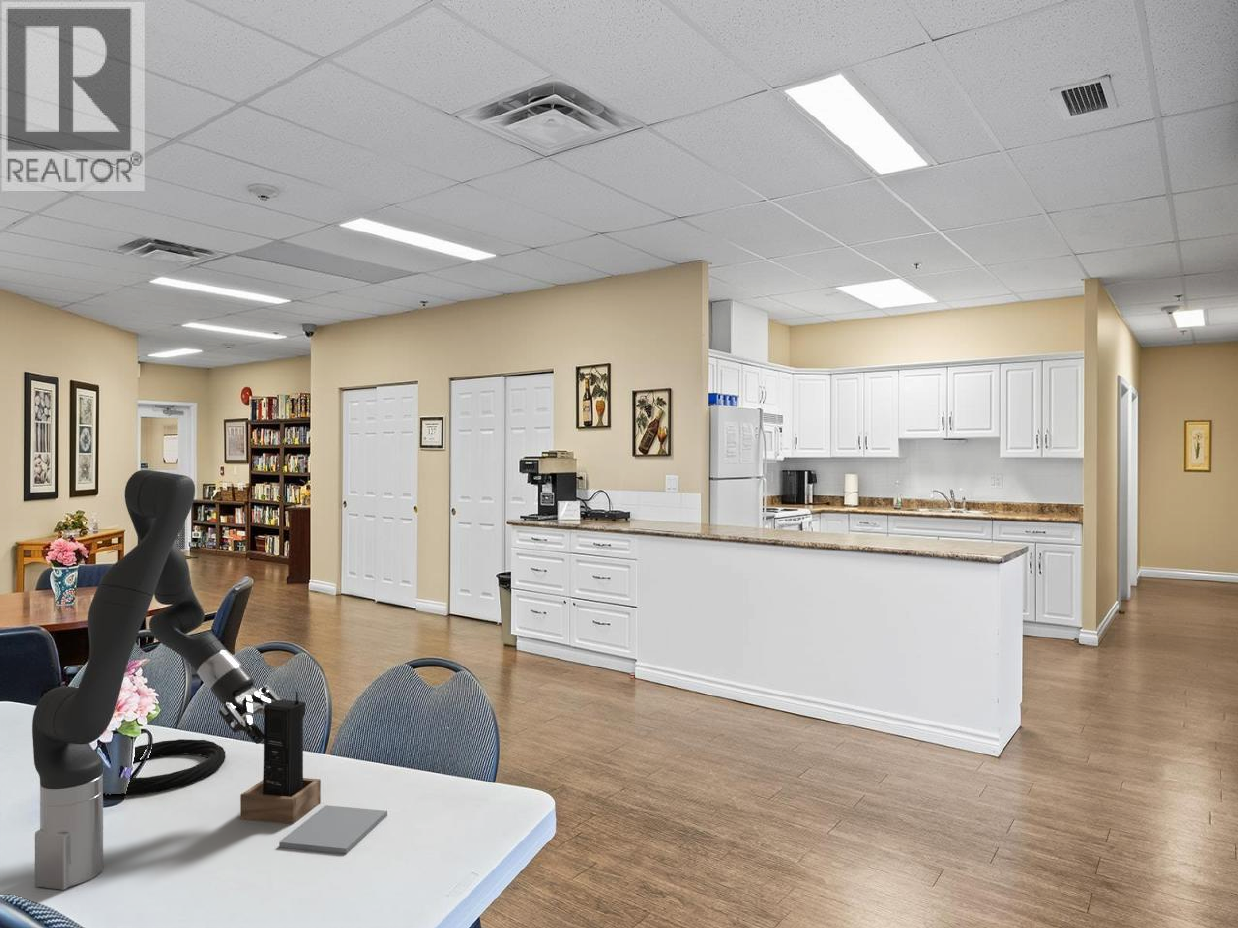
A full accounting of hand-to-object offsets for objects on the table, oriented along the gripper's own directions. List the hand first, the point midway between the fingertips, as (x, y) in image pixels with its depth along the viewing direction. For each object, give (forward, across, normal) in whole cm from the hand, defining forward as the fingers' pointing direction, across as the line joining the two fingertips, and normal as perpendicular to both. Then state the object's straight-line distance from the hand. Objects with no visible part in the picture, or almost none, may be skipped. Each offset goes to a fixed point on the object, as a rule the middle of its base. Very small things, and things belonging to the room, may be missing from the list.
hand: (274, 733), depth 165 cm
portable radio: (+13, 0, +10) cm, 16 cm away
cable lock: (-16, +12, +40) cm, 44 cm away
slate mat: (+24, -6, -1) cm, 25 cm away
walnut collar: (+13, 0, +10) cm, 16 cm away
